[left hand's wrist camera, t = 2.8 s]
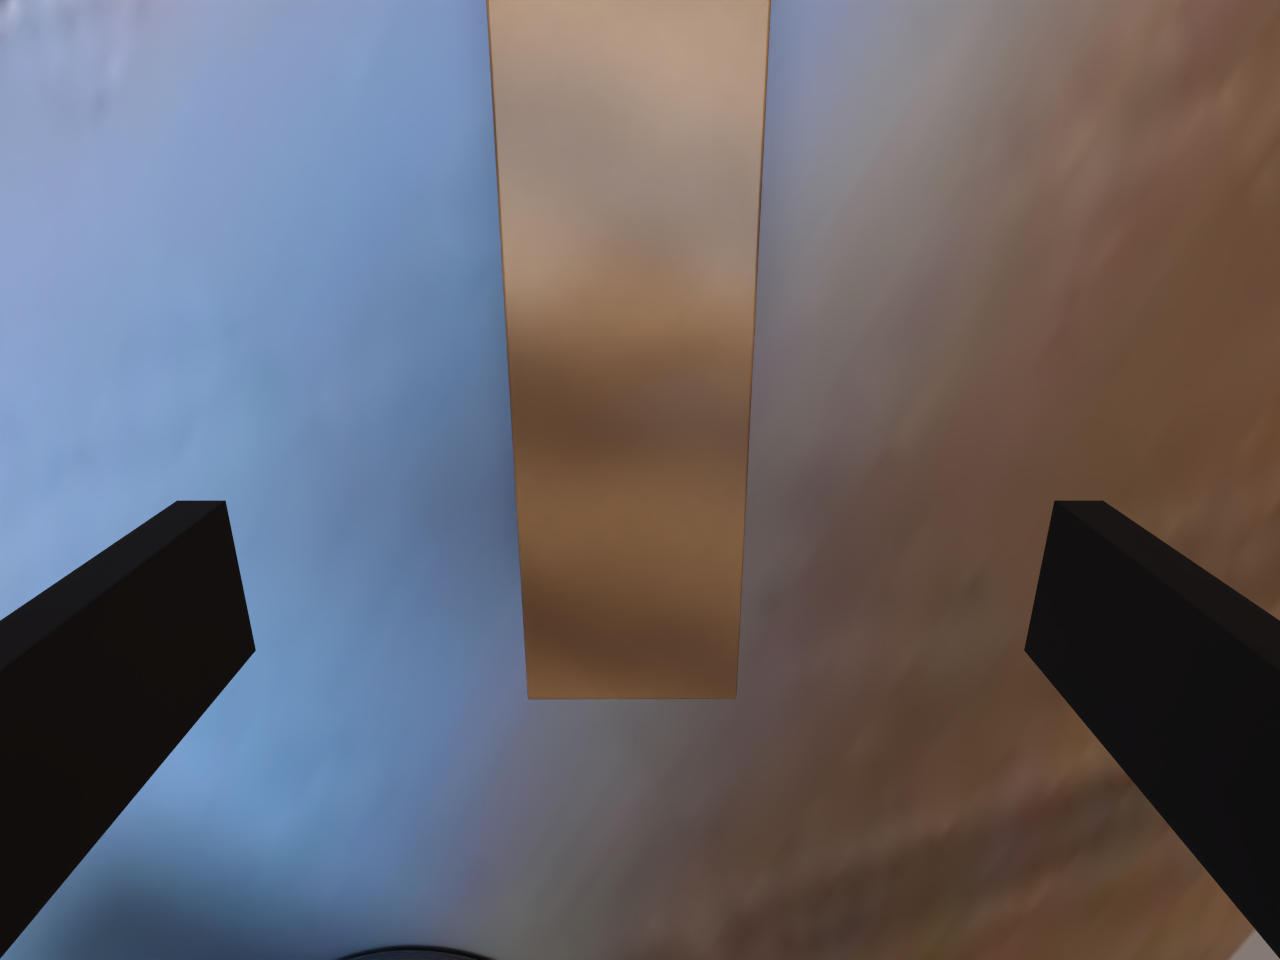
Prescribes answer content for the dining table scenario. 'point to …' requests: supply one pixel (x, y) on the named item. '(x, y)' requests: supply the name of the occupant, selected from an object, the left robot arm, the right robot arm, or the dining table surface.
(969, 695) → the dining table surface
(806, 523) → the dining table surface
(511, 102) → the beam
